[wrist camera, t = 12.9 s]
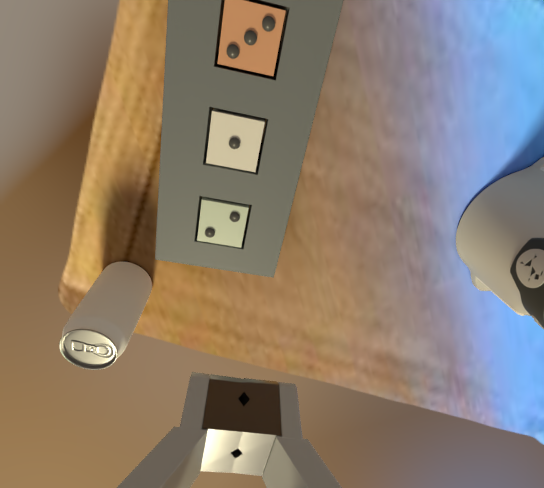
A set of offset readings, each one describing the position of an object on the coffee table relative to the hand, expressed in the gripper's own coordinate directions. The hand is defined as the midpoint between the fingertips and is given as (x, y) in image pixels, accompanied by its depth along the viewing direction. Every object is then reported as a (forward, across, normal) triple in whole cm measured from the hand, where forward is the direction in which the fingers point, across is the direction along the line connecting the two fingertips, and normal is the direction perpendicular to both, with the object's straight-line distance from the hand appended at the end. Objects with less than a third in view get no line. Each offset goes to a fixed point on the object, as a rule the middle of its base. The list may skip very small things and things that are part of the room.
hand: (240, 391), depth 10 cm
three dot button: (+31, +2, -9) cm, 32 cm away
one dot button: (+31, +2, 0) cm, 31 cm away
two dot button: (+31, +2, +9) cm, 32 cm away
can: (+31, +13, +21) cm, 40 cm away
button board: (+31, +2, 0) cm, 31 cm away
